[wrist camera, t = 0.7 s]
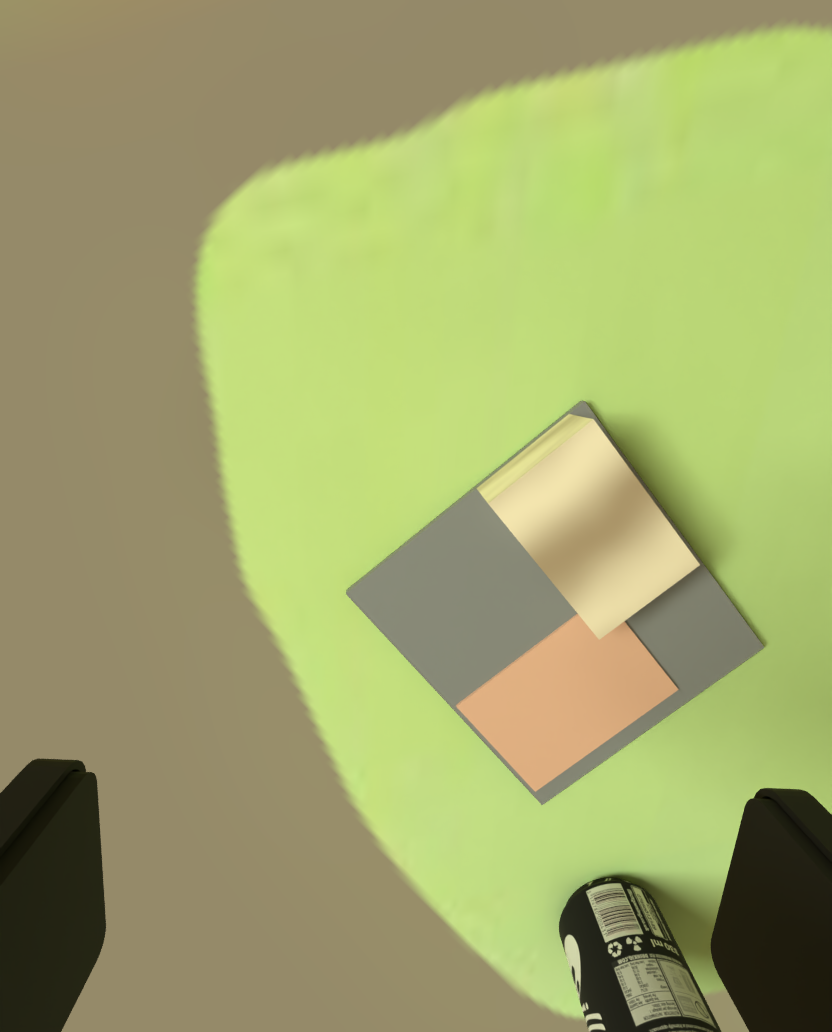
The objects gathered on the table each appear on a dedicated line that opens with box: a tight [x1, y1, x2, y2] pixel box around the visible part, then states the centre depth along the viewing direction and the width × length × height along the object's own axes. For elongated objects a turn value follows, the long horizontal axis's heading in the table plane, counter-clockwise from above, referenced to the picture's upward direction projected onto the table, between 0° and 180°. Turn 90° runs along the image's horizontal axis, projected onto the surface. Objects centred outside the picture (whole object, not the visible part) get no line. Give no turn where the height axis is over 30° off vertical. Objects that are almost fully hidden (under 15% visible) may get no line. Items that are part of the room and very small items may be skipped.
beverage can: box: [559, 878, 721, 1032], centre depth 32 cm, size 7×7×12 cm
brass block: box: [477, 414, 700, 640], centre depth 28 cm, size 9×6×4 cm, turn 40°
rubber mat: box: [346, 401, 764, 805], centre depth 32 cm, size 18×16×1 cm
